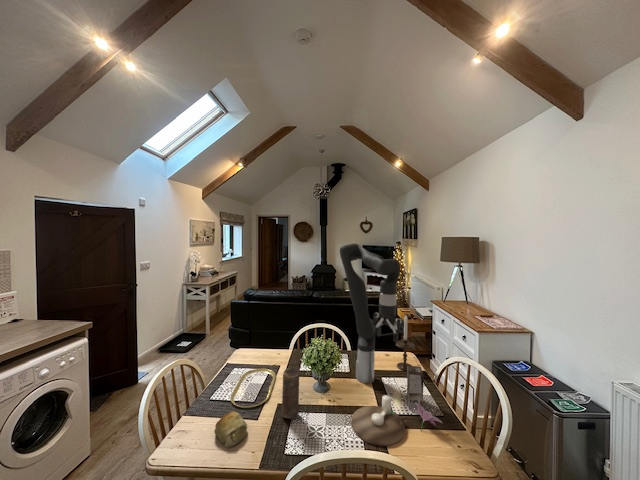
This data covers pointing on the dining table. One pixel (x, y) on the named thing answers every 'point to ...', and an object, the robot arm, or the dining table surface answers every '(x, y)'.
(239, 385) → the brass oval ring
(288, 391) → the candle
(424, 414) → the lily
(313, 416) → the dining table surface
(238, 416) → the pastry
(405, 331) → the candlestick
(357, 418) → the brown flat rounded piece
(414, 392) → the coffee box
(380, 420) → the tuning crank
